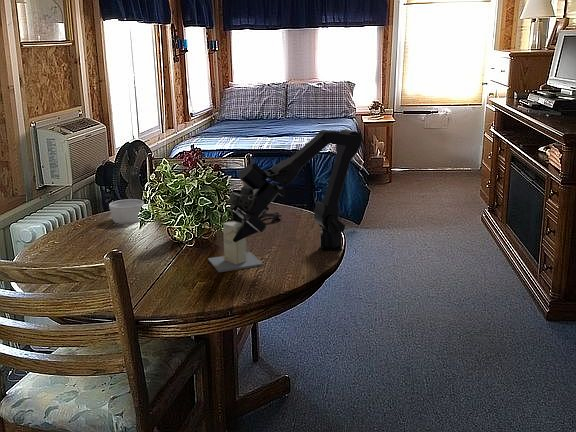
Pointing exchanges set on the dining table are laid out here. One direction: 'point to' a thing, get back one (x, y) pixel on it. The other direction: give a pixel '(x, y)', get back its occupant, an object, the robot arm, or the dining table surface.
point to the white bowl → (126, 210)
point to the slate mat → (228, 266)
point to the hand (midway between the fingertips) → (230, 237)
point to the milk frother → (249, 191)
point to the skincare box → (233, 243)
